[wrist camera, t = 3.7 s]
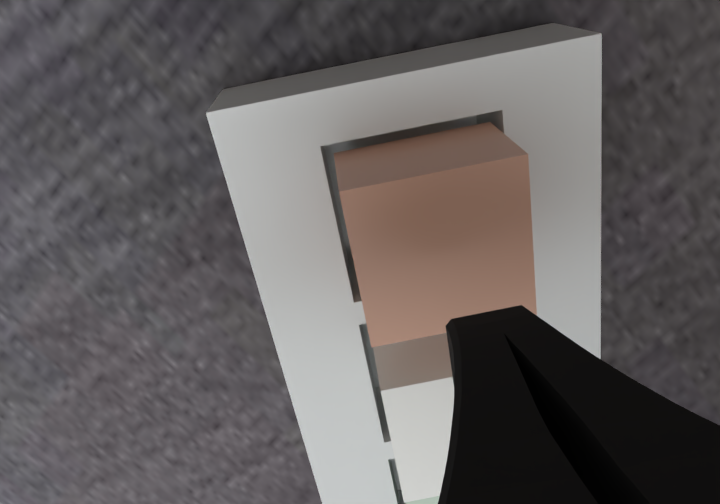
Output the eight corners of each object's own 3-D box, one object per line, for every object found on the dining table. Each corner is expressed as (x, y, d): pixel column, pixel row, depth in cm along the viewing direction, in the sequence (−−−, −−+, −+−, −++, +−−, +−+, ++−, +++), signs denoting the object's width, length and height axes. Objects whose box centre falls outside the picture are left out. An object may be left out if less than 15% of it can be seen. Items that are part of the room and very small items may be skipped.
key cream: (504, 301, 18) (539, 359, 15) (513, 405, 20) (545, 475, 17) (369, 327, 18) (380, 390, 15) (390, 430, 20) (403, 502, 17)
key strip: (553, 22, 17) (601, 33, 14) (569, 558, 28) (599, 625, 25) (222, 89, 17) (205, 113, 15) (365, 597, 28) (371, 669, 25)
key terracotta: (489, 121, 15) (528, 154, 13) (501, 261, 17) (537, 314, 15) (333, 153, 15) (338, 191, 13) (361, 288, 17) (371, 347, 15)
